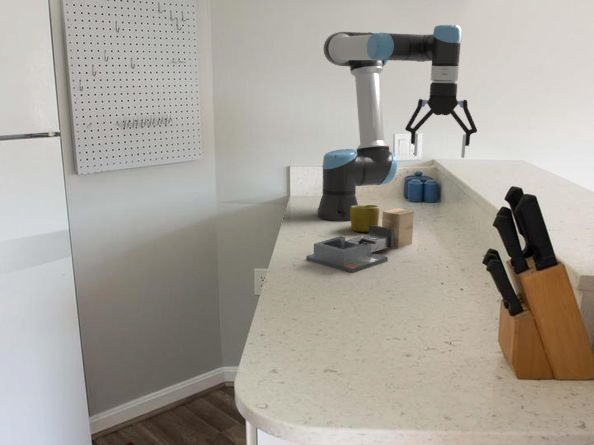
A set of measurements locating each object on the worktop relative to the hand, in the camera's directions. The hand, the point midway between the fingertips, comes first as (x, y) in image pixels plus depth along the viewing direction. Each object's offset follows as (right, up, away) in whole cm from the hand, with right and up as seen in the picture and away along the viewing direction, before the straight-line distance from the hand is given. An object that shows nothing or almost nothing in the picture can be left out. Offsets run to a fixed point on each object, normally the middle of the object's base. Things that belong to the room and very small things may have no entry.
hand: (438, 156), depth 174 cm
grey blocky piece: (-21, -27, -10) cm, 36 cm away
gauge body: (-28, -30, -14) cm, 43 cm away
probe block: (-12, -26, +1) cm, 29 cm away
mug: (-20, -22, +19) cm, 35 cm away
